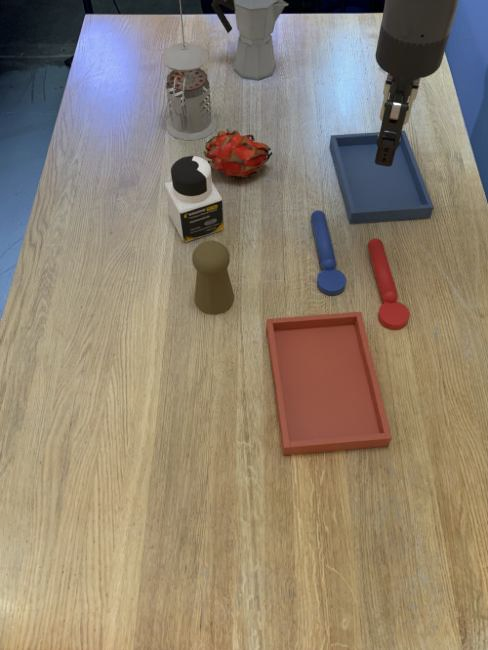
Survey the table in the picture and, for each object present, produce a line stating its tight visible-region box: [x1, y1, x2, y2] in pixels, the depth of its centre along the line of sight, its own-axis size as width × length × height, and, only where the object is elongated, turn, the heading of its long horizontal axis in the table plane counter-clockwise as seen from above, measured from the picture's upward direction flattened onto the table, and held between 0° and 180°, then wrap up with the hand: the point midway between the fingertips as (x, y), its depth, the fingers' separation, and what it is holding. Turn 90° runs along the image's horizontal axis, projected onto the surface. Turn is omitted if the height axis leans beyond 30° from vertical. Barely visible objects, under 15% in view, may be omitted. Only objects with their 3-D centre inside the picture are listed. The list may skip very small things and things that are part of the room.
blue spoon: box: [310, 209, 347, 296], centre depth 94 cm, size 16×4×2 cm, turn 5°
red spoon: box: [367, 237, 410, 331], centre depth 91 cm, size 16×4×2 cm, turn 5°
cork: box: [191, 239, 235, 316], centre depth 86 cm, size 6×6×11 cm
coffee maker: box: [211, 0, 289, 81], centre depth 117 cm, size 15×9×18 cm, turn 77°
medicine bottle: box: [164, 155, 225, 243], centre depth 95 cm, size 7×7×12 cm
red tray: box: [265, 311, 393, 456], centre depth 81 cm, size 14×20×2 cm
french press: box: [161, 0, 218, 141], centre depth 103 cm, size 10×12×25 cm
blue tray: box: [328, 130, 435, 225], centre depth 104 cm, size 14×20×2 cm
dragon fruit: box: [202, 127, 273, 182], centre depth 104 cm, size 8×8×12 cm
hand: (388, 142), depth 79 cm, fingers open, 8 cm apart
